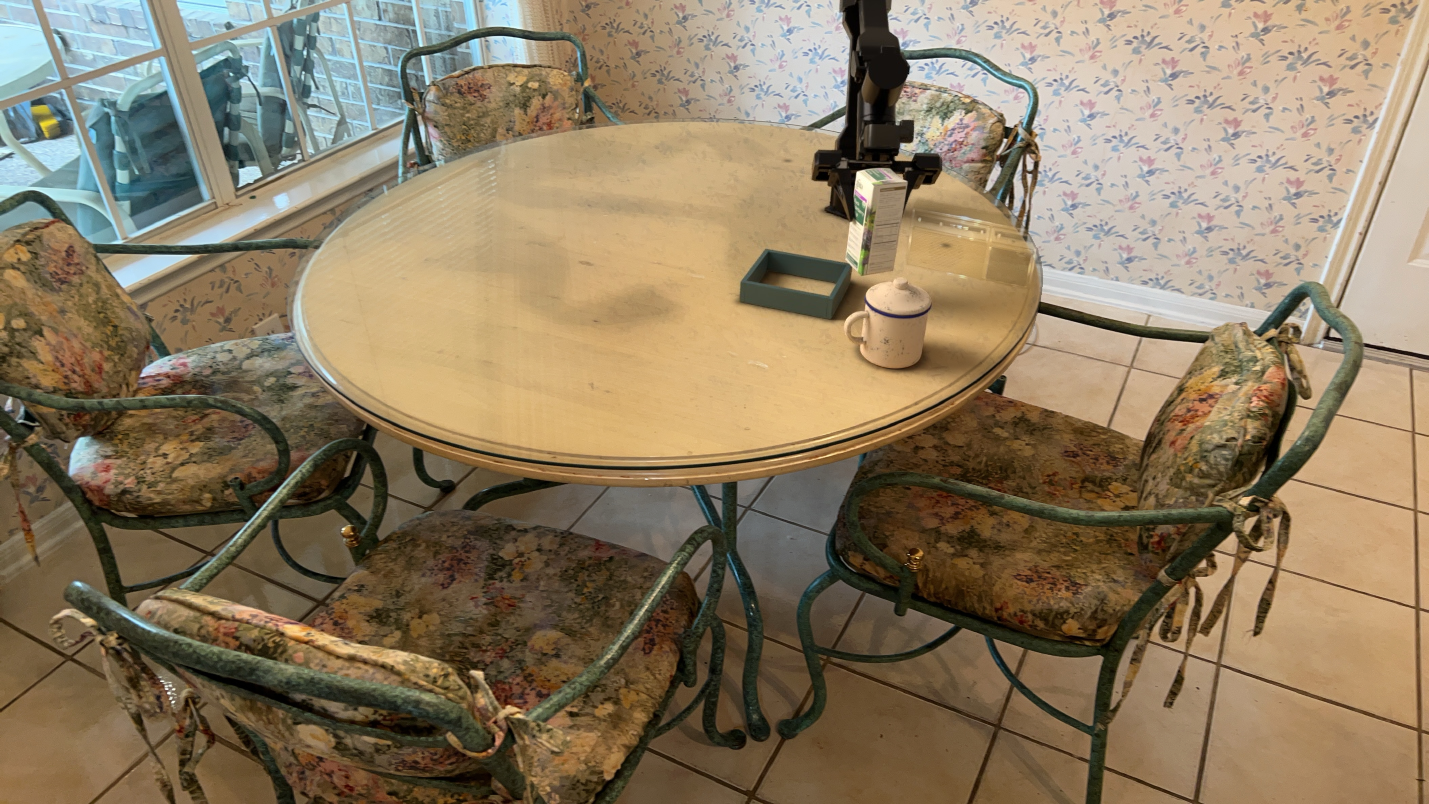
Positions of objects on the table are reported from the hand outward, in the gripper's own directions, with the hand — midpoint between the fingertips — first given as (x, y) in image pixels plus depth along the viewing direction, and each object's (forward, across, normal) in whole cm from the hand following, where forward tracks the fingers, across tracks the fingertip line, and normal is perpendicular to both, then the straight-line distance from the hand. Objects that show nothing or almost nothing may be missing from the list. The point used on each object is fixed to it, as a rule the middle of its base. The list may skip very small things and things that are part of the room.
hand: (874, 222), depth 133 cm
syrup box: (+5, 0, +6) cm, 8 cm away
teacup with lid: (+20, +1, -2) cm, 21 cm away
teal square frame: (+8, -11, +11) cm, 17 cm away
